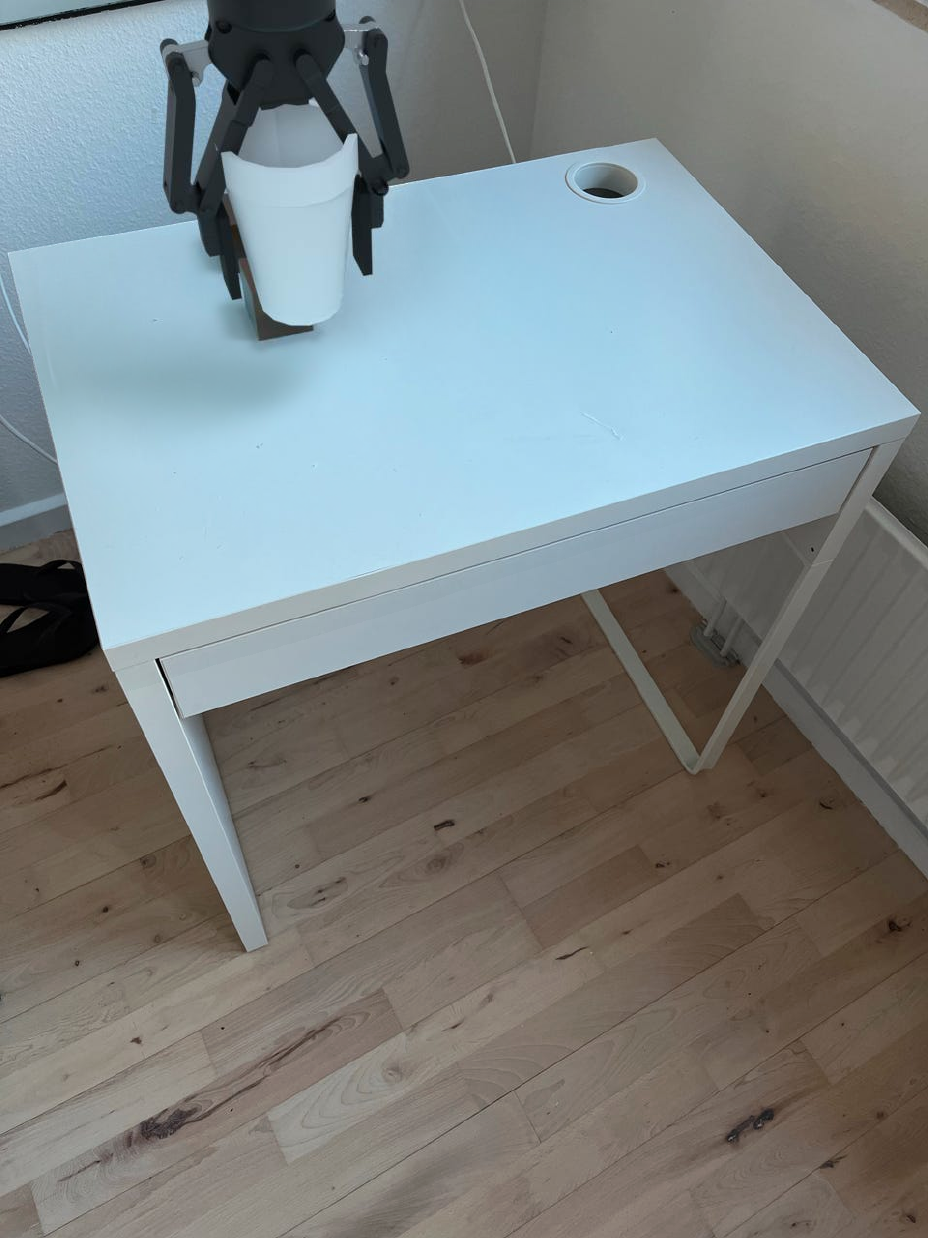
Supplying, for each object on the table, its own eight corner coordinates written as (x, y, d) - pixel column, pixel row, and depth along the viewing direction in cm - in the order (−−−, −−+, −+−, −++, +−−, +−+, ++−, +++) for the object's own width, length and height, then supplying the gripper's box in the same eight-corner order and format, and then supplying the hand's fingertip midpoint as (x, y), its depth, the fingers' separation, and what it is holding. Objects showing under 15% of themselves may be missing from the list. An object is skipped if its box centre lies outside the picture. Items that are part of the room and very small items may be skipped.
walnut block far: (232, 273, 88) (224, 225, 84) (220, 243, 91) (212, 195, 87) (284, 264, 90) (279, 217, 86) (271, 234, 92) (265, 186, 88)
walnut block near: (259, 340, 83) (252, 293, 79) (245, 306, 86) (237, 258, 82) (313, 330, 85) (309, 282, 81) (298, 296, 87) (293, 248, 83)
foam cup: (267, 352, 69) (244, 186, 58) (220, 281, 73) (190, 114, 62) (383, 317, 72) (381, 152, 61) (331, 250, 76) (321, 85, 66)
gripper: (427, -111, 57) (419, 224, 76) (50, -82, 52) (141, 272, 70) (472, -60, 53) (452, 280, 72) (70, -22, 48) (161, 335, 66)
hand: (298, 276), depth 71 cm, fingers closed on foam cup, 9 cm apart
